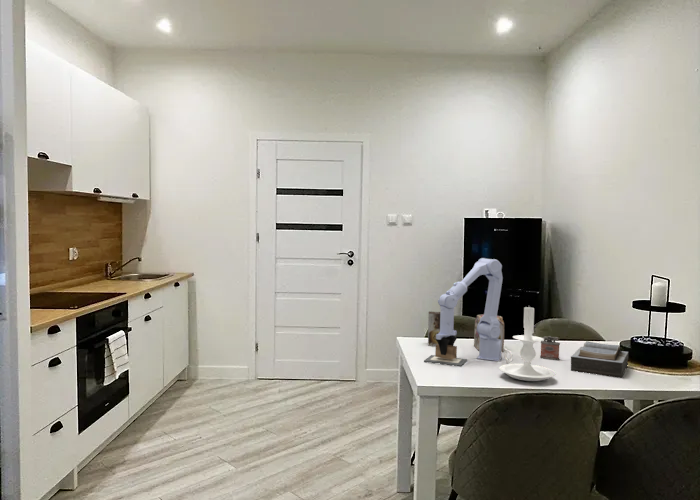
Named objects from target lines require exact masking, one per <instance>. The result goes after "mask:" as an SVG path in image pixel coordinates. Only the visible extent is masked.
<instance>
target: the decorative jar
mask: <svg viewBox="0 0 700 500" xmlns="http://www.w3.org/2000/svg"><path fill="white" fill-rule="evenodd" d="M482 316H484V313H483V314H477V315H476V317H475V319H474V336H473V341H474V342H473V344H474V345H473V346H474V347H475V348H476V349H477V350H478V351H479V346H480V337H479V334H478V332H477V325H478V324H479V322H480V318H481V317H482ZM497 319H498V321H499V322H500V335H499V337H498V338H497V339H500V340H501V341H502V351H501V353H502V352H504V351H505V350H504V349H505V346H504V344H505V321H504V320H503V319H504V318H503V316H501V315H498V314H497Z"/></svg>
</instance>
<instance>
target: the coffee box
mask: <svg viewBox="0 0 700 500" xmlns="http://www.w3.org/2000/svg"><path fill="white" fill-rule="evenodd" d="M427 318H428V322H427V323H428V327H427V329H428V330H427V340H428V341H427V345H428V347H436V345H437V344H438V342H437V341H436V334H438V333H439V332H440V311H428V317H427Z"/></svg>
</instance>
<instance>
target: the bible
mask: <svg viewBox="0 0 700 500" xmlns="http://www.w3.org/2000/svg"><path fill="white" fill-rule="evenodd" d="M628 361H629V351H623V350H621V345H620V344H608V343H607V344H606V343H600V342H599V343H598V342H593V341H587V340H586V341H585V342H584V343H583V346H580V347H579V348H578V349H577V350H576V351H575V352H574V353H572V355H571V356H570V371H571V372H576V371H578V373H583V372H584V373H583V374H589V373H590V375H596V374H597V376H602V377H603V376H605V377H609V378H610V377H611V378H618V379H623V378H624V377H623V376H624V375H625V373H626V370H627V368H628V366H627V365H629V363H628Z"/></svg>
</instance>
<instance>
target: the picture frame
mask: <svg viewBox="0 0 700 500" xmlns="http://www.w3.org/2000/svg"><path fill="white" fill-rule="evenodd" d="M427 362H432V363H431V364H435V363H440V364H439V365H444V364H447V365H446V366H452V365H454V366H453V367H461V366H462V365H463V366H464V364H465V363H467V362H468V359H467V358H461V357H459V358H458V357H457V358H455V359H446V358H441V357H435V354H431V355H429V356H427V358H425V359H424V360H423V363H427ZM461 368H462V367H461Z"/></svg>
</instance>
